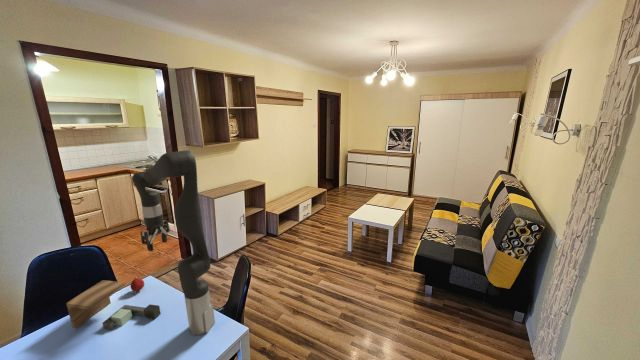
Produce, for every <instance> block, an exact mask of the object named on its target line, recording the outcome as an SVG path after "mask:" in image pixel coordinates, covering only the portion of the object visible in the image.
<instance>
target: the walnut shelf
mask: <svg viewBox="0 0 640 360" xmlns="http://www.w3.org/2000/svg"><path fill="white" fill-rule="evenodd" d="M124 287H126V283H125V282H122V281H115V280H114V281H113V280H104V279H103V280H100V282H97V283H96V284H95V285H93V286H91V287H89V288H88V289H86V290H85V291H83V292H81V293H80V294H78V295H77V296H75V297H74V298H72V299H71V300H69V301H68V302H66V303H65V304H66V308H67V312H68V315H69V319H70V322H71V323H70V324H71V326H72V329H73V330H74V329H75V330H76V329H77V328H80V327H81V326H82V325H83V324H85V323H86V322H87V321H88V320H90V319H92V318H93V317H94V316H96V315H97V314H98V313H99V312H101V311H102V310H103V309H105V308H107V306H109V305H111V304H112V303H111V298H110V297H111V296H113V295H114V294H116V293H117V292H118V291H120V290H121V289H122V288H124Z"/></svg>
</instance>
